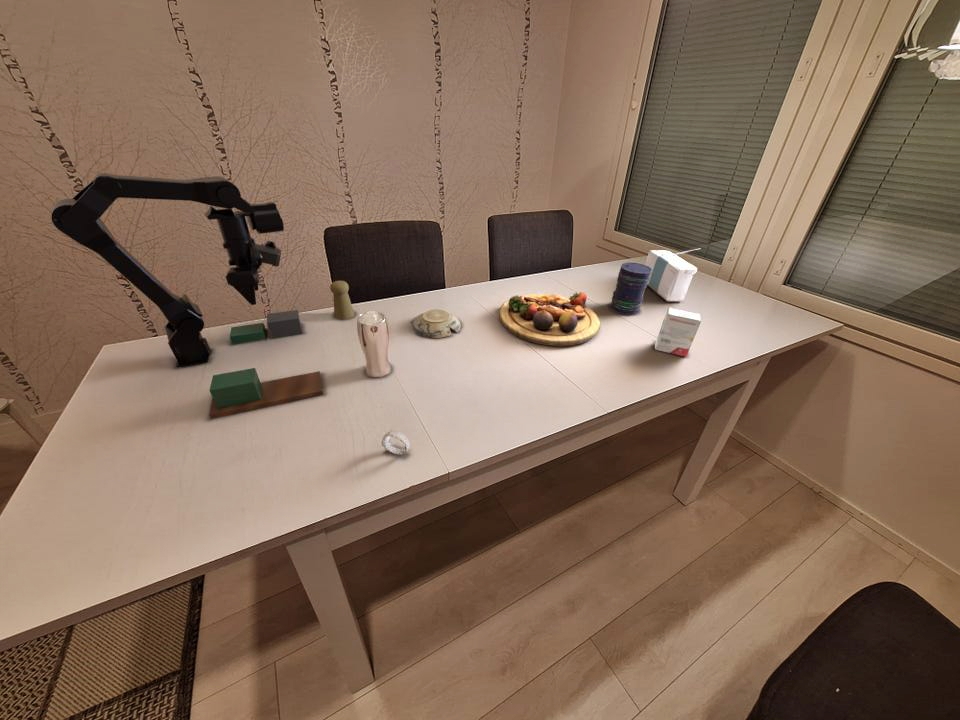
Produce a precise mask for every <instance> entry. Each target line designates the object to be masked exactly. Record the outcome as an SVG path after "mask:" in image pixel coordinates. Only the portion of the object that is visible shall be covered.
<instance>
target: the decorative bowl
mask: <svg viewBox="0 0 960 720" xmlns="http://www.w3.org/2000/svg"><path fill="white" fill-rule="evenodd" d="M412 326H413V329H414V330H415V331H416V333H417V335H418V336H421V337H424V338H432V339H442V338H446V337H450V336H452V332H451V330H453V331H454V332H455V333H458V332H459V331H460V330H461V322H460V320H459V318H458V317H457V316H455V315H454V314H452V313H450V312H448V311H446V310H444V309H436V308H435V309H429V310H426V311H424V312H422V313H420V314H419V315H417V316H416V318H415V319H414V320H413V321H412Z"/></svg>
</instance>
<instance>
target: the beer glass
mask: <svg viewBox="0 0 960 720" xmlns="http://www.w3.org/2000/svg"><path fill="white" fill-rule="evenodd" d="M356 329H357V336H358V342H359V344H360V348H361V350H362V352H363V356H364V359H365V363H366V364H365V373H366V375H367V376H369V377H371V378H383V377H386V376H387V375H389V373H390V372H391V371H392V368H391V364H390V362H389V345H390V333H389V332H390V331H389V327H388V321H387V315H386V314H385V313H384V312H380V311H376V310H375V311H373V310H371V311H365V312H363V313H360V314H358V315H357V317H356Z"/></svg>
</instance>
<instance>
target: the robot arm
mask: <svg viewBox="0 0 960 720" xmlns="http://www.w3.org/2000/svg"><path fill="white" fill-rule="evenodd" d="M120 198H121V199H143V200H162V201H163V200H164V201H166V200H167V201H186V202H187V201H188V202H195V203H200V204H203V205H207V206H209V207H208V209H207V210H206V212H205V213H204V217H205V218H206V219H207V220H209V221H211V220H216V222H217V225H218V228H219V232H220V234H221V237H222V240H223V242H222V247H223V249H224V250H226V253H227V256H228V261H227V262H228V265H229V267H230V268H229V269H228V270H227V272H226V274H225V279H226V283H227V285H229V286H231V287H233V289H234V290H236V291H237V292H238V293H239V294H240V296H242V297H243V299H245V301H247V303H249V305H251V306H255V305H257V297H256V291H259V283H260V275H259V271H258V270H259V269H260V268H261V266H262V264H267V265H271V266H273V267H279V266H280V263H281V255H282V250H281V249H280V248H279V247H277V245H276V243H275V241H272V240H267V241H266V242H265V243H261V244H258V243H256V241H255V238H253V237H252V236H251V233H250V230H251V231H256V234H258V235H262V234H271V233H280V232H284V229H285V228H284V227H285V226H284V221H283V218H282V217H281V214H280V212H279V210H278V207H277V203H275V202H273V201H267V202H264V203H253V204H251V203H250V201H248V200H247V199H244V198H243V197H242V194H241V191H240V189H239V188H238V187H237V185H235V184H234V183H233V182H231V181H230V180H229V179H227V178H225V177H223V176H218V175H215V176H203V177H196V178H190V179H175V178H165V177H164V178H163V177H150V176H149V177H148V176H134V175H123V174H122V175H120V174H113V173H109V172H100V173H97V174H96V175H95V176H94V177H93V179H92V181H90V182H89V183H88V184H87V185H86V186H84V187H83V188H82V189H81V190H79V192H78V193H76V194H75V195H74V196H73V197H72V198H64V199H60V200H59V201H57V202H55V205H54V206H53V208H52V211H51V222H52V224H53V226H54V227H55V229H57V230H58V231H60V232H61V233H62V234H64V235H65V236H66V237H68V238H70V239H71V240H73V241H75V242H76V243H77V244H78V245H81V246H82V247H84V248H87V249H88V250H90V251H92V252H94V253H96V254H97V255H99V256H100V258H102V259H103V260H105V261H106V262H107V263H108V264H110V266H111V267H112V268H113V269H114V270H116V271H117V272H118V273H119V274H120V275H121V276H122V277H124V278H125V279H126V280H127V281H129V282H130V284H131V285H133V286H134V287H135V288H137V289H138V291H140V292H141V293H142V294H143V295H144V296H146V297H147V299H149V300H150V301H151V302H152V303H153V304H154V305H156V306H157V307H158V309H159V310H160V311H161V314H163V316H164V317H165V318H166V320H167V322H166V324H165V326H164V331H165V333H166V337H167V340H168V342H167V344H168V346H169V348H170V350H171V352H172V355H173V356H174V358H175V360H176V364H175V367H176V368H182V367H183V368H184V367H189V366H194V365H200V364H201V365H202V364H205V363H208V362H209V358H210V357H211V353H212V349H211V347H210V345H209V343H208V340H207V338H206V337H204V336H203V335H202V331H203V329H204V327H205V321H204V319H203V316H204V315H203V312H202V311H201V309H200V306H199V305H198V304H196V303H194V302H193V301H192V300H191V299H190V298H189V296H188V295H187V294H186V293H185V294H183V295H182V296H179V295H177V294H175V293H173V292H171V291H170V289H169V288H167V287H166V285H164V284H163V283H162V282H161V281H160V280H159V279H158V278H157V277H156V276H155V275H154V274H153V273H151V271H150V270H148V269H147V268H146V267H145V266H144V265H143V264H142V263H141V262H140V261H139V260H138V259H137V258H136V257H135V256H134V255H132V253H130V252H129V251H128V250H127V249H126V248H125V247H124V246H123V245H122V244H121V243H120V242H118V241H117V239H116V238H115V236H114V235H113V234H112V232H111V231H110V229H109V228H108V226H107V225H106V223H105V222H104V221H103V220H102V218H101V217H102V216H103V215H104V214H105V212H106V211H107V210H108V209H109V208H110V207H111V206H112V204H113V203H114V202H115V201H116V200H117V199H120ZM215 207H216V208H215ZM217 208H219V209H217ZM232 209H236V210H238V211H233V210H232ZM248 225H249V226H248ZM249 228H250V229H249Z"/></svg>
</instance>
